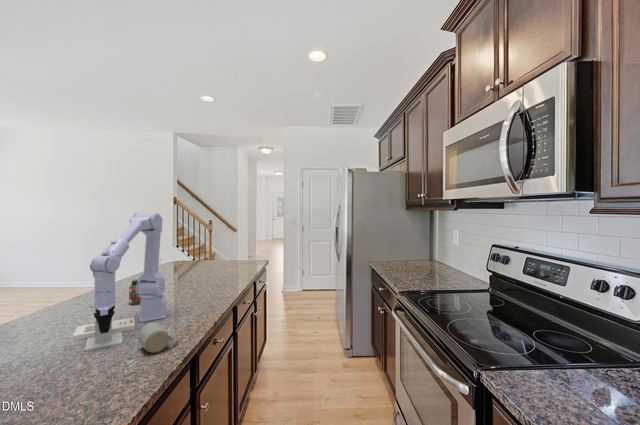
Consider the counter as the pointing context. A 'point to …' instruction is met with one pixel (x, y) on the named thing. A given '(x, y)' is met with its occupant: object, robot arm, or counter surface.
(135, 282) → the supplement bottle
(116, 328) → the power strip
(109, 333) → the block
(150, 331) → the ceramic mug
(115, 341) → the pad
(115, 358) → the counter surface
